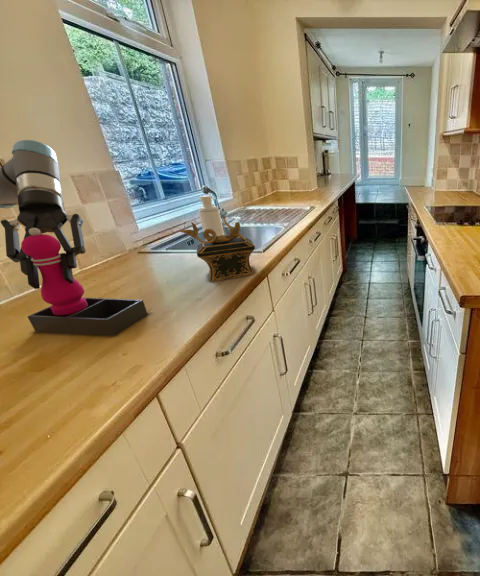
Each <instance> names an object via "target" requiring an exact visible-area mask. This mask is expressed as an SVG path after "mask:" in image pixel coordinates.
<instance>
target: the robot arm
mask: <svg viewBox="0 0 480 576" xmlns="http://www.w3.org/2000/svg"><path fill="white" fill-rule="evenodd" d="M11 154H12V157H11V158H10V159H9V160H8V161H6V162H5V163H4V164H3V165H2V166H0V209H12V208H15V207H16V206H18V211H19V213H18V215H17V216H16V219H13V220H12V219H11V220H8V219H1V220H0V224H1V226H2V227H3V228H4V239H5V241H4V242H5V253H6V254H5V255H6V257H7V258H8V259H10V260H11V261H12V262H13V263H19V264H20V265H19V266H20V271H21V273H22V274H24V275H25V276H27V284H28V285H29V286H30V287H31V288H33V289H34V290H39V289H41V286H40V278H39V276H40V275H39V268H38V267H37V266H35V265H33V261H31V259H32V257H31V256H29V255H27V254H25V253H24V252H23V250H22V248H21V242H20V235H19V231H20V226H21V225H22V226H24V227H25V228H24V231H25V233H24V236H23V240H24V239H25V238H27V237H29V236H32V235H30V234H29V229H31V228H37V229H39V230H40V231H41V233H40V234H45V233H54V235H55V237H56V239H57V240H58V241H59V243H60V245H61V248H62V250H63V251H64V252H62V253H60V252H59V253H60V254H61V261H62V268H63V275H64V279H65V280H66V281H67V282H68V283H74V280H73V278H74V275H73V269H77V267H78V264H77V256H78V255H84V254H85V253H86V247H85V242H84V236H83V235H84V234H83V231H82V226H83V224H84V220H83V218H81V215H79V214H78V213H73V214H72V215H71V214H67V213H66V210H65V203H64V198H63V197H64V196H63V190H62V189H63V188H62V185H61V184H62V183H61V182H62V181H61V176H60V175H61V174H60V167H59V166H60V165H59V164H60V163H59V161H58V158H57V154H56V151H54V150H53V148H51V146H50V145H47V144H45V143H42V142H41V141H37V140H32V139H22V140H18V141H16V142H15V143H14V144H13V145H12V150H11ZM67 222H68V223H69V224H70V230H71V235H72V242H73V247H72V245H71V243H70V242H69V240H68V238H67V236H66V235H65V232H64V230H63V229H62V227H63V226H64V225H65V224H67ZM23 240H22V241H23Z"/></svg>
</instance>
